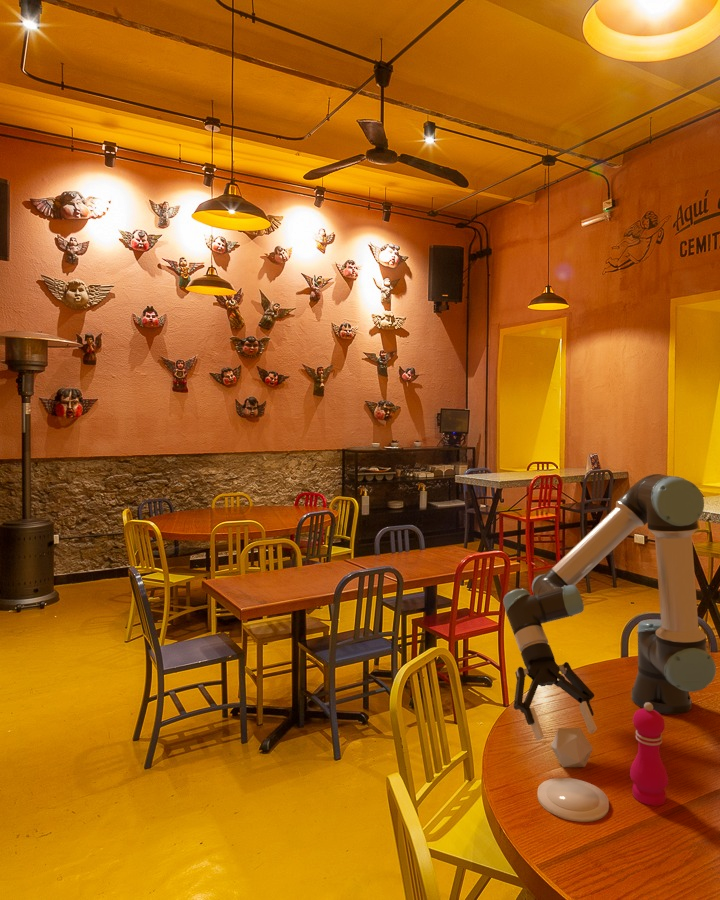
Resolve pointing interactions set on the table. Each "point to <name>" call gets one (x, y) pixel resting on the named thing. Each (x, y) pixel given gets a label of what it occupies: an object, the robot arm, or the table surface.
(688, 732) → the table surface
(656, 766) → the pepper mill
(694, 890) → the table surface
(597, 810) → the plate
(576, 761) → the die
